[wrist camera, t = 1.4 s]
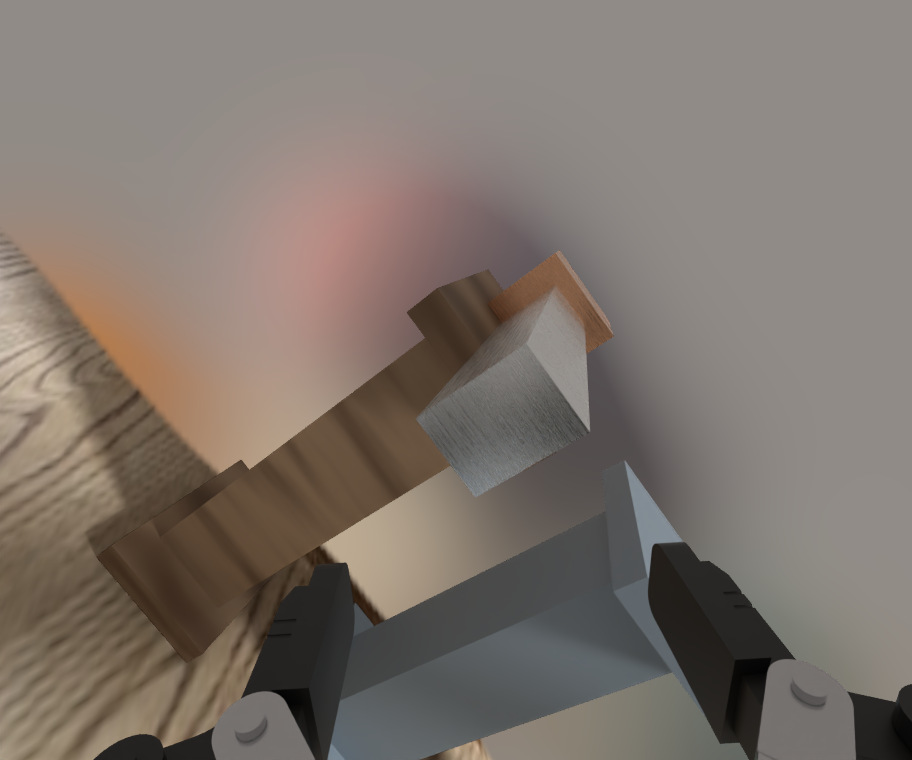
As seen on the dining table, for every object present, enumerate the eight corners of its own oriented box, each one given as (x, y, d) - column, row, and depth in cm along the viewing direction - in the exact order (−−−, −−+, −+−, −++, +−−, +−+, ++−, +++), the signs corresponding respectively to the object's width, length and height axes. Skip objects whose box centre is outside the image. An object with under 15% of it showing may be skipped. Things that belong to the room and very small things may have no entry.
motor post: (338, 841, 37) (752, 721, 26) (256, 744, 36) (647, 576, 25) (401, 684, 50) (695, 558, 39) (341, 610, 49) (624, 460, 38)
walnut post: (186, 662, 36) (556, 452, 24) (96, 557, 35) (437, 288, 24) (292, 548, 49) (564, 376, 37) (228, 469, 48) (488, 269, 37)
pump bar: (503, 536, 15) (653, 458, 13) (385, 377, 14) (524, 274, 13) (549, 358, 36) (608, 319, 35) (501, 292, 36) (559, 250, 34)
